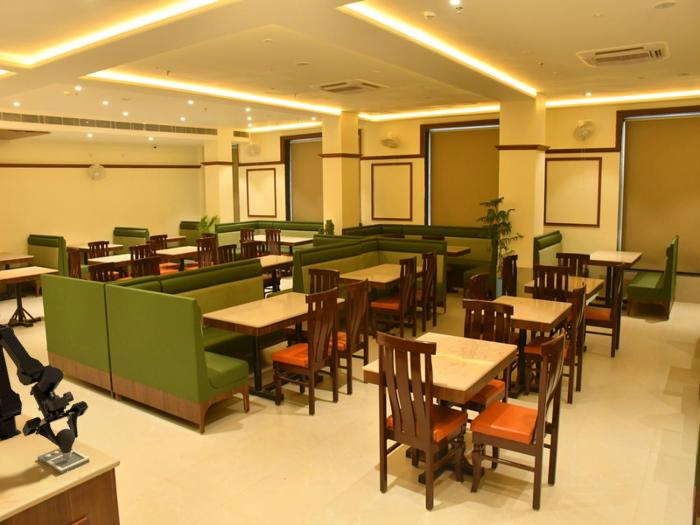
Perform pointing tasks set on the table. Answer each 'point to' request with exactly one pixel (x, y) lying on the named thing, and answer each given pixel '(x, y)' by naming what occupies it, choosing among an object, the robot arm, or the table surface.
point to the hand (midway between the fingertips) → (67, 441)
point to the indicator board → (63, 460)
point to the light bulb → (66, 442)
